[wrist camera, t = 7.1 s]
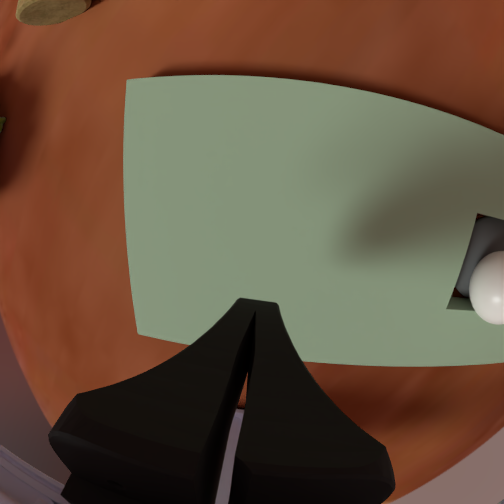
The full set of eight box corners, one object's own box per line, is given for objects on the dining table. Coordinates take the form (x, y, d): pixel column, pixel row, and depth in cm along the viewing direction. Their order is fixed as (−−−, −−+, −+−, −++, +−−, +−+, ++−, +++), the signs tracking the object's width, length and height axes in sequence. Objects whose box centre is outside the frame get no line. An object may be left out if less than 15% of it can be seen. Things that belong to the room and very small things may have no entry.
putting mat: (501, 349, 16) (509, 361, 15) (147, 320, 18) (137, 334, 17) (562, 170, 11) (576, 175, 9) (141, 82, 13) (126, 79, 11)
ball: (456, 281, 16) (505, 291, 14) (461, 334, 13) (515, 342, 12) (478, 229, 13) (531, 243, 12) (493, 283, 10) (550, 295, 9)
